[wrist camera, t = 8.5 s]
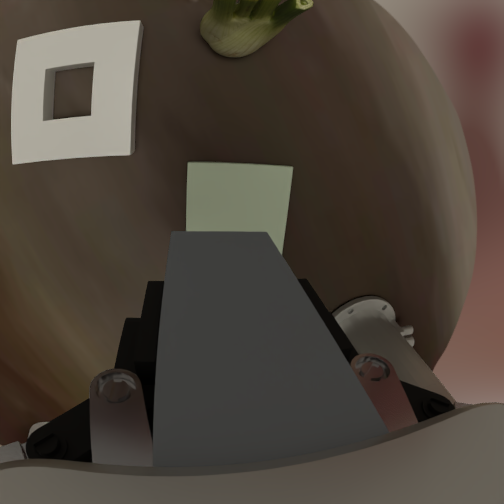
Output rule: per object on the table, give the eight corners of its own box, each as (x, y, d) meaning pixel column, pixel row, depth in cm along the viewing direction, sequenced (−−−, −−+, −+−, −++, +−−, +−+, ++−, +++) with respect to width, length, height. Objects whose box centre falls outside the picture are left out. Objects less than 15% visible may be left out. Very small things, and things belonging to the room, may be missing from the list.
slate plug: (266, 231, 13) (389, 432, 4) (258, 310, 15) (331, 507, 6) (171, 231, 13) (152, 466, 4) (174, 312, 14) (180, 527, 5)
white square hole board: (143, 27, 21) (140, 20, 19) (134, 151, 26) (130, 155, 24) (28, 43, 19) (17, 40, 16) (24, 159, 24) (12, 164, 22)
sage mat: (291, 166, 30) (293, 167, 30) (279, 257, 34) (281, 260, 34) (187, 161, 28) (187, 162, 27) (186, 258, 32) (186, 261, 32)
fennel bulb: (272, 33, 24) (325, -5, 13) (244, 72, 25) (284, 50, 15) (219, 4, 22) (242, -54, 11) (190, 43, 23) (195, 0, 13)
